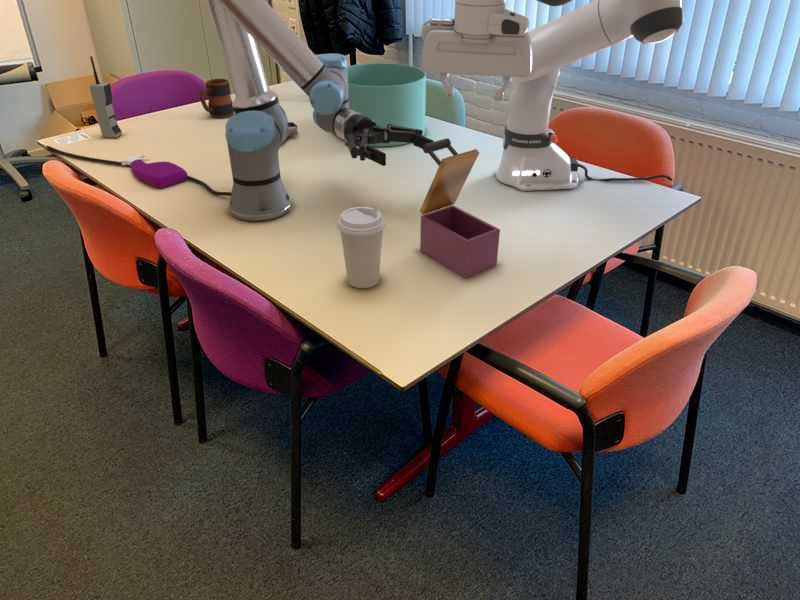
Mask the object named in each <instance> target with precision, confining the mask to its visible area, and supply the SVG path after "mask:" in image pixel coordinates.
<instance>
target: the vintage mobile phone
mask: <svg viewBox="0 0 800 600" xmlns="http://www.w3.org/2000/svg"><path fill="white" fill-rule="evenodd" d="M89 59H90V62H91V66H92V70H93V76H94V79H95V82H94V83H92V84H90V85H89V91H90V94H91V98H92V102H93V106H94V109H95V114H96V118H97V122H98V125H99V129H100V133H101V136H102V138H108V139H109V138H110V139H117V138H119V137H120V136H122V135H123V131H122V129H121V128H120V126H119V125H118V120H117V117H116V113H115V108H114V104H113V91H112V87H111V83H110V82H101V81H100V80H99V77H98V72H97V70H96V66H95V63H94V59H93V56H91V55H90V57H89Z"/></svg>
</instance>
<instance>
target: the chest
mask: <svg viewBox="0 0 800 600" xmlns="http://www.w3.org/2000/svg"><path fill="white" fill-rule="evenodd" d="M500 232H501V229H500V228H498V227H497V226H495V225H492V224H490V223H489V222H487V221H484V220H482V219H481V218H479V217H477V216H475V215H473V214H471V213H469V212H467V211H465V210H463V209H462V208H459V207H458V206H455V205H454V204H453V205H450V206H447V207H444V208H442V209H439V210H436V211H433V212H430V213H427V214H424V215H422V214H421V215H420V237H419V239H420V240H419V241H420V244H419V246H420V247H419V249H420V250H419V251H420V252H421V253H423V254H425V255H426V256H428V257H429V258H431V259H433V260H434V261H436V262H438V263H439V264H441V265H442V266H444V267H446V268H447V269H449V270H451V271H453V272H454V273H456V274H457V275H458V276H459V275H460V277H462V278H464V279H467V278H469V277H472V276H474V275H477V274H479V273H481V272H484V271H487V270H488V269H490V268H493V267H495V266H497V265H498V255H499V246H500V245H499V243H500V235H501V233H500Z"/></svg>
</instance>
